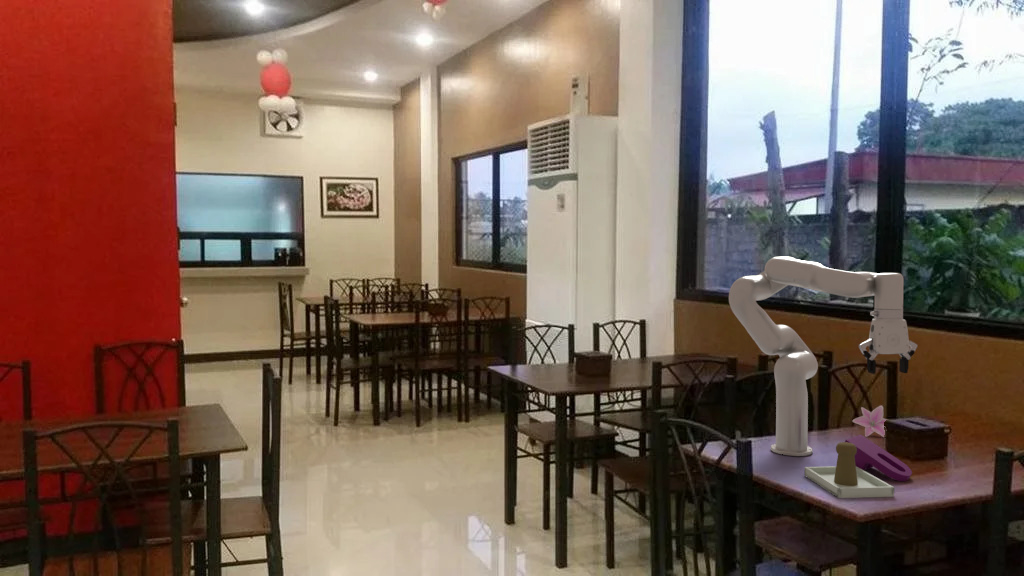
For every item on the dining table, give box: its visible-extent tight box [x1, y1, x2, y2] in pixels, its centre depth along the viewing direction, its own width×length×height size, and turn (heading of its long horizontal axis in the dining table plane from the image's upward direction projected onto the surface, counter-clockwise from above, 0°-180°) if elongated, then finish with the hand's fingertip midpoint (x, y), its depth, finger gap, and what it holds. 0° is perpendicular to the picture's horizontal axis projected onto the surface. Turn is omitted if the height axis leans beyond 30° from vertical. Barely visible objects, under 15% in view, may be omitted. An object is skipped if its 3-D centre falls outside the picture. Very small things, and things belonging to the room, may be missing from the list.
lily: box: [852, 404, 888, 438], centre depth 266 cm, size 12×12×10 cm
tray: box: [803, 465, 895, 499], centre depth 208 cm, size 20×15×2 cm
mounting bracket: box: [844, 434, 913, 482], centre depth 220 cm, size 9×8×18 cm
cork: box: [834, 441, 858, 486], centre depth 208 cm, size 6×6×11 cm
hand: (887, 372), depth 224 cm, fingers open, 9 cm apart
